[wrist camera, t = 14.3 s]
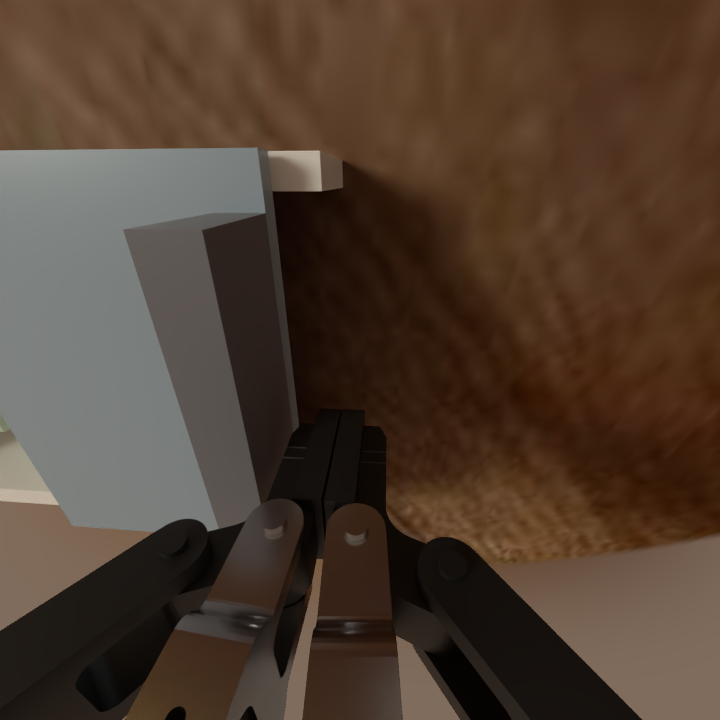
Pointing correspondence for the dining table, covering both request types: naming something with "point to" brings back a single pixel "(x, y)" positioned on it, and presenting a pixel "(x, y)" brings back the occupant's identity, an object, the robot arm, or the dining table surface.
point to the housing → (288, 173)
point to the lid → (145, 331)
